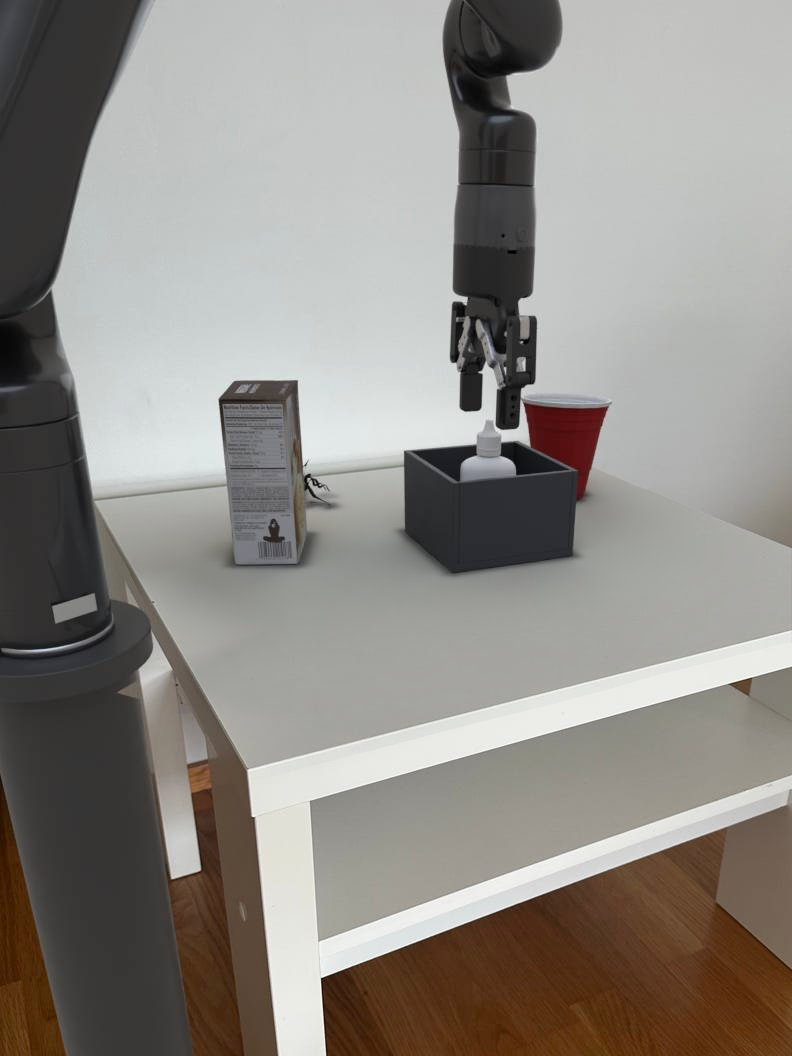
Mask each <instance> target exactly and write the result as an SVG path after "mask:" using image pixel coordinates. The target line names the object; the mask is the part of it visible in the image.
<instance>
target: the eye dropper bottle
mask: <svg viewBox="0 0 792 1056" xmlns="http://www.w3.org/2000/svg"><path fill="white" fill-rule="evenodd" d="M484 423H485V424H484V428H483V429H482V431H479V432H478V433H477V434H476V444H477V454H478V455H477V456H474V457H471V458H468V459H466V460H465V461H464V462H463V463H462V464H461V469H460V481H468V480H477V479H487V478H497V477H507V476H516V468H515V465H514V463H513V462H512V461H511V460H509V459H507V458H505V457H502V456H500V454H501V442H502V434H501V433H500V432H498V431H497V430H496V429H495V424H494V420H493V419H490V418H488V419H485V422H484Z"/></svg>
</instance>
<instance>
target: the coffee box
mask: <svg viewBox="0 0 792 1056" xmlns="http://www.w3.org/2000/svg"><path fill="white" fill-rule="evenodd" d="M299 400H300V399H299V380H298V379H287V380H286V379H283V380H276V379H275V380H271V379H267V380H266V379H265V380H263V379H262V380H261V379H260V380H259V379H255V380H245V379H243V380H233V382H232V383H231V384H230V385H229V386H228V387H227V388H226V390H225V391H224V392H223V393H222V394H221V395H220V396H219V397H218V409H219V410H218V411H219V420H220V430H221V439H222V449H223V459H224V467H225V479H226V489H227V500H228V509H229V518H230V519H229V521H230V527H231V528H230V529H231V539H232V549H233V557H234V558H233V559H234V564H235V565H239V566H241V565H243V566H244V565H245V566H246V565H247V566H249V565H250V566H251V565H252V566H253V565H298V564H299V563H300V559H301V556H302V553H303V549H304V546H305V543H306V539H307V536H308V523H307V508H306V507H307V506H306V505H307V504H305V503H306V493H305V492H306V491H305V490H304V476H305V474H304V467H303V466H304V464H303V463H304V461H303V446H302V431H301V415H300V401H299Z"/></svg>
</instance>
